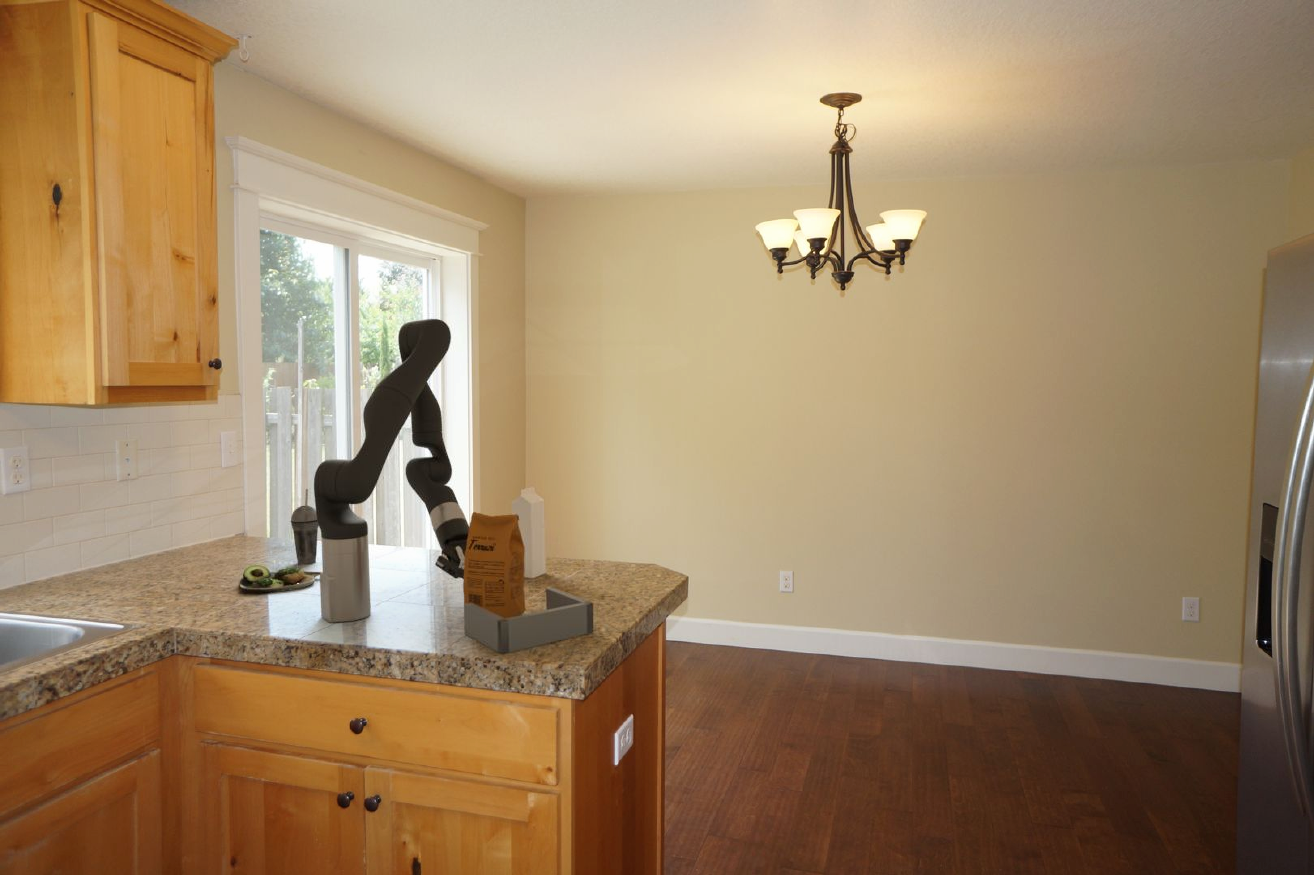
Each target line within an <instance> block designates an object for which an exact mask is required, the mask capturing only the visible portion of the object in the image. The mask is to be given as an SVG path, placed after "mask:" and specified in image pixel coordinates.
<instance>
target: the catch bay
mask: <svg viewBox="0 0 1314 875" xmlns="http://www.w3.org/2000/svg"><path fill="white" fill-rule="evenodd" d="M545 591H546V592H545V593H546V595H545V597H546V598H545V600H546V601H545V602H546V605H545V606H546V609H545V610H540V611H535V612H534V611H533V612H530V613H523V614H520V615H518V616H514V617H509V618H502V617H500V616H498V615H496V614H494V613H492V612H490V611H488V610H486V609H484V608H481V607H479V606H477V605H475V604H473V603H466V604H464V603H463V611H464V612H463V613H464V614H463V618H464V620H463V622H464V634H465V636H468V637H470V638H472V639H473V640H475V641H477V642H479V643H480V644H483V645H485V646H486V647H488V648H490V649H492V650H493V651H496V652H498V653H499V654H501V655H504V654H508V653H512V652H517V651H521V650H526V649H530V648H533V647H535V648H536V647H538V646H542V645H543V646H544V645H546V644H552V643H556V642H559V641H558V640H561V641H565V640H569V639H572V638H571V637H574V638H576V637H575V636H578V637H582V636H585V635H584V634H587V635H589V634H588V633H591V634H594V633H593V632H594V602H591V601H590V600H587V599H584V598H581V597H579V596H577V595H574V594H570V593H567V592H565V591H563V590H561V589H558V588H555V587H547V588H546V589H545ZM581 635H582V636H581ZM568 638H569V639H568ZM555 641H556V642H555ZM551 642H552V643H551Z"/></svg>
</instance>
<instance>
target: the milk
mask: <svg viewBox="0 0 1314 875" xmlns="http://www.w3.org/2000/svg"><path fill="white" fill-rule="evenodd" d="M535 490H536V488H535V487H533V486H532V487H529V488H528V487H527V488H523V489H521V490H520V495H519V497H517V498H516V499H514V500H513V501H511V503H510V504H511V515H514V514H517V515H518V516H519V520H518V525H519V529H520V532H521V537H522V541H523V544H524V548H525V555H524V567H525V572H524V579H525V578H526V579H535V578H537V577H540V576H542V575H545V574H546V569H547V568H546V527H545V526H546V521H545V520H546V516H545V515H546V513H545V499H544V498H542V497H541V496H539V495H538V494H537V493H536V491H535Z"/></svg>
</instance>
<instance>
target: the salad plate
mask: <svg viewBox="0 0 1314 875" xmlns="http://www.w3.org/2000/svg"><path fill="white" fill-rule="evenodd" d="M320 572H321V571H306V570H304V567H302V568H301V569H300V568H298V566H296V567H289V566H287V567H285V568H282V569H279V570H278V571H275V572H273V571H271V572H270V569H268V568H267V567H265V566H263V565H257V564H255V565H250V566H248V567H246V568H245V569H244V570H243V573H242V578H241V579H240V580H239V581H238V583H239V588H238V589H239V591H240V592H241V593H243V594H251V595H252V594H253V595H260V594H261V593H263V594H271V593H270V592H272V593H277V592H276V591H280V592H283V591H282V590H287V591H290V590H289V589H293V590H299V588H300V589H303V587H304V588H306V586H307V587H309V585H310V586H311V584H314V583H315V578H317V577H318V576H319V577H320ZM297 583H299V584H297ZM291 584H293V585H291ZM294 584H295V585H294ZM284 585H288V586H284ZM283 586H284V587H283Z"/></svg>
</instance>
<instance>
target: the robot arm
mask: <svg viewBox="0 0 1314 875" xmlns="http://www.w3.org/2000/svg"><path fill="white" fill-rule="evenodd" d="M451 340H452V334H451V330H450V326H449V325H448V324H447V323H446V322H445V321H444V320H443V319H438V318H427V319H419V320H412V321H407V322H405V323H403V325H402V326H401V327H400V329H399V331H398V339H397V342H398V350H399V355H400V360H401V364H400V365H398V366H397V367H396V368H394V370H392V371H390V372H389V374H387V375H386V376H384V378H382V379H381V380H380V381H379V383H378V384H377V385H376V386H375V387H374V389H373V391H372V393H371V394H370V396H369V397H368V400H367V401H366V403H365V406H364V407H363V414H362V416H363V419H362V420H363V426H364V433H365V436H364V441H363V442H362V445H361V447H360V449H359V451H358V453H357V454H356V456H355V457H354V458H352V459H342V458H341V459H339V458H335V459H326V460H324V461H322V462H321V463H320V464H319V465H318V466H317V468H316V471H315V474H314V476H313V477H314V479H313V494H314V496H313V497H314V502H315V503H314V504H315V510H316V517H317V522H318V525H319V526H318V528H319V529H320V533H321V534H320V535H321V536H320V537H321V563H322V565H321V566H322V571H319V572H320V575H319V587H320V590H319V591H320V609H321V610H320V612H321V615H320V616H321V618H323V619H324V620H325V621H327V622H328V623H336V622H337V623H338V622H339V623H340V622H342V623H343V622H352V621H357V620H358V621H359V620H361V619H365V618H368V617H369V616H371V612H372V611H371V610H372V609H371V607H372V606H371V604H372V603H371V584H370V583H371V581H370V558H369V557H370V555H369V554H370V553H369V550H370V549H369V547H370V546H369V527H368V523H367V521H366V520H365V519H364V518H362V517H360V516H358V514H356V513H355V512H354V511H353V510H352V508H351V505H359V504H360V505H361V504H362V503H364V502H366V501H367V500H368V499H369V498H370V497H371V495H372V494H373V492H374V490H375V488H376V486H377V484H378V481H379V479H380V477H381V473H382V471H383V469H384V466H385V464H386V460H387V459H388V456H389V454H390V452H391V450H392V447H393V446H394V444H395V442H396V439H397V437H398V436H399V433H400V432H401V430H402V428H403V427H404V425H405V423H406V422H407V420H408V418H409V416H410V421H411V440H412V443H413V445H414V446H416V447H418V448H419V447H420V448H424V449H427V450H428V451H429V452H430V454H431V456H425V457H423V456H419V457H413V458H410V460H408V462H407V464H406V466H405V477H406V480H407V483H408V485H409V486H410V487H411V489H412V490H413V491H414V493H415V494H416V495H417V496H418V497H419V499H420V500H421V501H422V502H423V503H424V504H425V508H426V510H427V513H428V516H429V518H430V522H431V526H432V530H433V532H434V534H435V537H436V539H437V542H438V545H439V548H440V549H441V553H440V554H441V555H438V557H437V559H436V561H435V566H436V567H437V568H439V569H441V570H442V571H443V572H445V573H446V574H447V575H449V576H451V577H453V578H454V579H456V580H457V579H462V580H464V559H465V550H466V546H467V538H468V533H469V526H470V524H469V523H468V521H467V518H466V516H465V514H464V512H463V509H462V507H461V506H460V505H459V504H460V503H459V502H458V500H457V497H456V495H455V492H454V490H453V489H452V487H451V486H448V485H447V484H448V483H449V482H450V480H451V479H452V476H453V467H452V463H451V460H450V458H449V455H448V452H447V448H446V445H445V442H444V437H443V436H444V435H443V420H442V419H443V418H442V410H441V406H440V404H439V402H438V400H437V397H436V396H435V394H434V392H433V391H432V389H431V387H430V385H429V381H428V380H429V379H430V378H431V376H432V375H433V373H434V372H435V370H436V369H437V367H438V366H439V364H440V363H441V362H442V360H443V359H444V357H445V356H446V354H447V352H448V351H449V349H450V345H451V342H452V341H451Z"/></svg>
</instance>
